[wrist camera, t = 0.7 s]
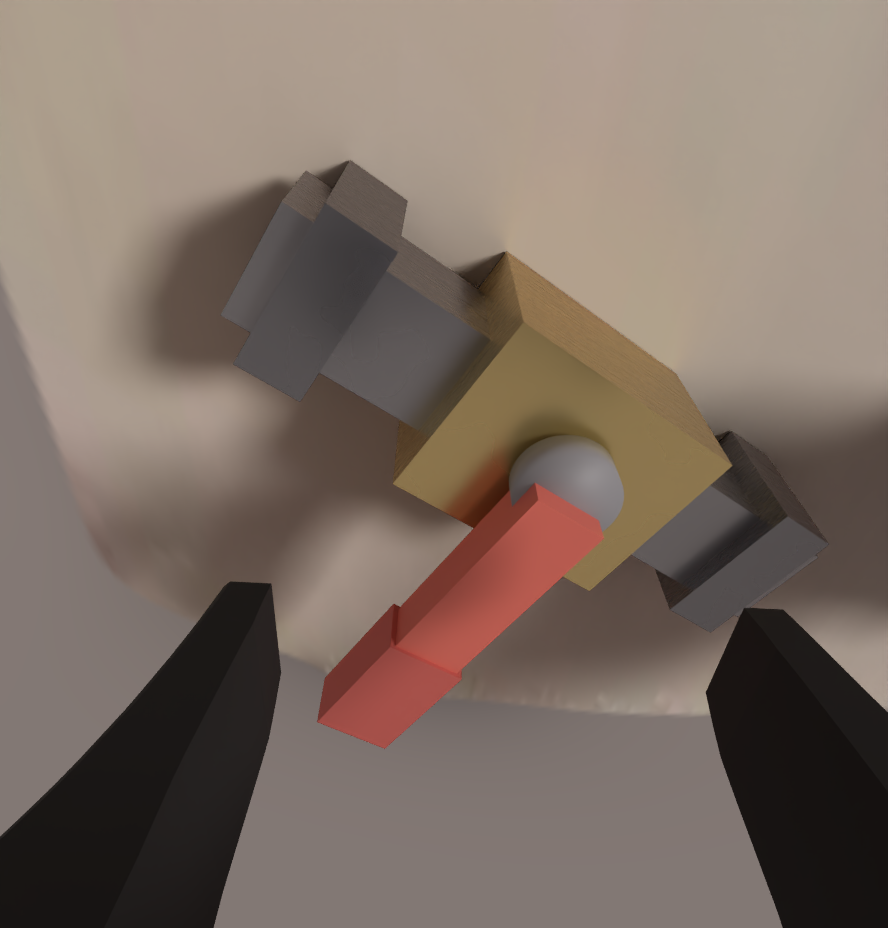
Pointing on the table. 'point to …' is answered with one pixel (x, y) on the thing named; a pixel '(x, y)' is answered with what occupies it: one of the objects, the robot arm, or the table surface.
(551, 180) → the table surface
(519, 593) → the lever
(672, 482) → the pipe valve
